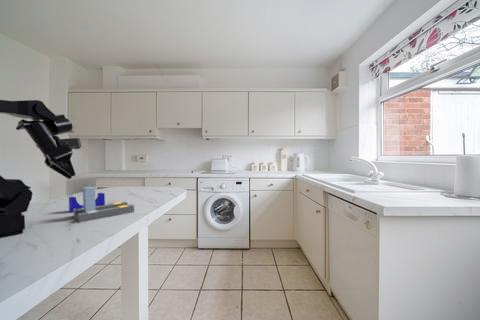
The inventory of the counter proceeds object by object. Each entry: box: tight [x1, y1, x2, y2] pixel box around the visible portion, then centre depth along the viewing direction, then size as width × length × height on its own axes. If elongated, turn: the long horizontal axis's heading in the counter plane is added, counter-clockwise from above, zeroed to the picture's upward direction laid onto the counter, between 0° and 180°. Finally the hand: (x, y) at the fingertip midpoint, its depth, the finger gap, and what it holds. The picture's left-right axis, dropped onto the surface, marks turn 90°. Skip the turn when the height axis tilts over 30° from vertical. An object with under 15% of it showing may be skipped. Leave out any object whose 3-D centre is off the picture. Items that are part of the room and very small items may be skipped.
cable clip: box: [68, 192, 106, 214], centre depth 93 cm, size 12×4×6 cm, turn 143°
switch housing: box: [73, 201, 135, 223], centre depth 85 cm, size 18×10×3 cm, turn 136°
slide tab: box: [82, 186, 96, 212], centre depth 81 cm, size 3×4×10 cm
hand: (72, 177), depth 78 cm, fingers open, 9 cm apart
